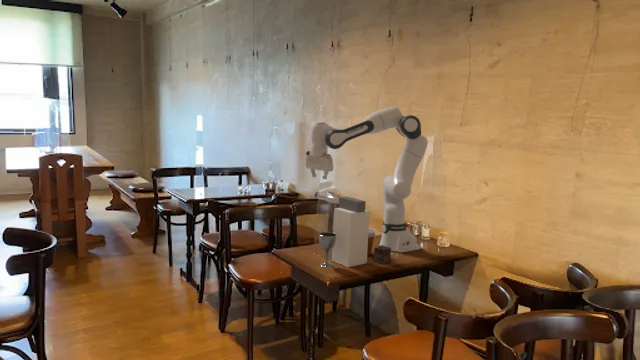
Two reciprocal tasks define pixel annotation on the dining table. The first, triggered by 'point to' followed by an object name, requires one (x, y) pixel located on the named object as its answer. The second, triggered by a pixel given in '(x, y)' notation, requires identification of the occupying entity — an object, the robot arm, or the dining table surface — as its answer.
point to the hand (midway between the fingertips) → (319, 178)
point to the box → (382, 254)
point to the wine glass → (327, 245)
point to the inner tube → (327, 197)
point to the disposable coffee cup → (370, 241)
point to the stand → (350, 232)
